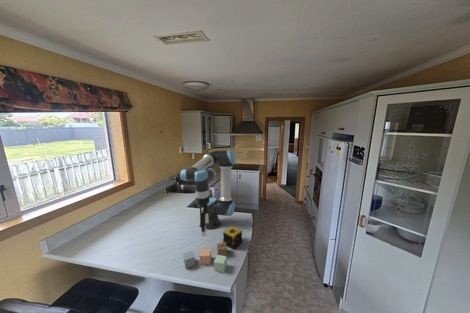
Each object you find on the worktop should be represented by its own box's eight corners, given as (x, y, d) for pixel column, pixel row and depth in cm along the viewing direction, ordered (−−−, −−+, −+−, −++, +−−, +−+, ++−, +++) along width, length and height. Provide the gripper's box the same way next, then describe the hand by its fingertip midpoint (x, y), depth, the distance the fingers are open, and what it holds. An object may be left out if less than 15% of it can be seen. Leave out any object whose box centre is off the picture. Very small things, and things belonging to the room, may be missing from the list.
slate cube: (184, 262, 114) (183, 253, 112) (193, 259, 116) (192, 250, 115) (185, 268, 108) (184, 260, 107) (195, 265, 111) (194, 256, 110)
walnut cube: (217, 251, 122) (216, 243, 121) (226, 250, 123) (225, 242, 122) (218, 257, 116) (217, 249, 115) (227, 256, 117) (226, 248, 116)
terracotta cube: (202, 257, 117) (201, 249, 116) (211, 257, 117) (210, 249, 116) (200, 264, 111) (199, 256, 110) (210, 264, 111) (209, 255, 110)
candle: (223, 244, 129) (222, 231, 127) (232, 237, 137) (231, 225, 135) (233, 250, 123) (232, 237, 121) (242, 242, 130) (242, 230, 128)
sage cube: (217, 263, 112) (217, 254, 111) (227, 264, 110) (226, 256, 109) (214, 270, 106) (213, 261, 105) (223, 272, 104) (223, 263, 103)
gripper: (199, 189, 118) (201, 218, 122) (192, 206, 93) (195, 242, 97) (210, 188, 118) (213, 217, 122) (207, 205, 93) (209, 241, 97)
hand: (205, 228), depth 109 cm, fingers open, 13 cm apart
